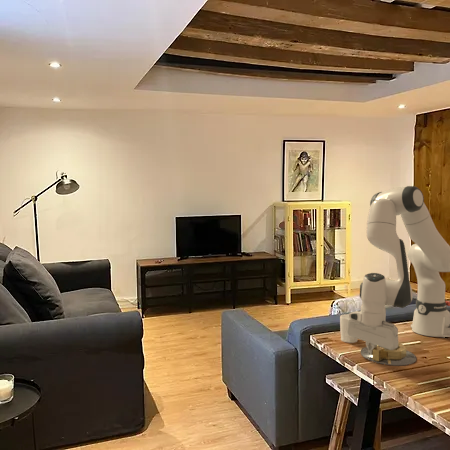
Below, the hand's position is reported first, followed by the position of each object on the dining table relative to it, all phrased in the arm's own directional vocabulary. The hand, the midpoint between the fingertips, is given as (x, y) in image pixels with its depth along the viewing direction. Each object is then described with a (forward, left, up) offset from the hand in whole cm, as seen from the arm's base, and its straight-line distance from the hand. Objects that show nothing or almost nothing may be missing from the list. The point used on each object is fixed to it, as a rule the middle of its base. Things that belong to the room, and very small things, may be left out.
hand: (371, 354), depth 172 cm
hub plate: (-9, +1, -2) cm, 9 cm away
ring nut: (-7, +1, -1) cm, 7 cm away
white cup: (-9, -19, -2) cm, 21 cm away
